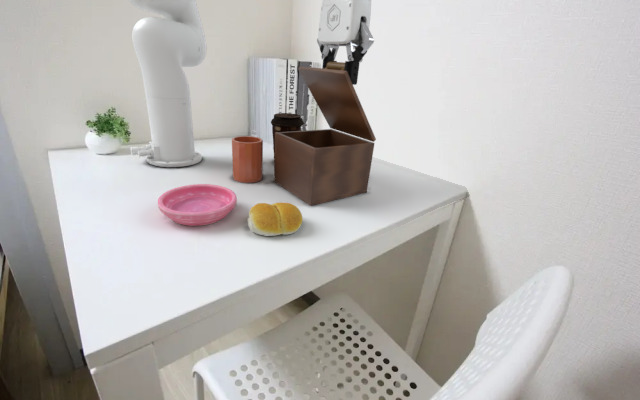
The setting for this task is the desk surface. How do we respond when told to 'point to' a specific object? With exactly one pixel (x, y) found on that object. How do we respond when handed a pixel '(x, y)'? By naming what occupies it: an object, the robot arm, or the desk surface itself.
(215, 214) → the saucer
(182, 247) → the desk surface
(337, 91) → the lid
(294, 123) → the coffee cup
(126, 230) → the desk surface
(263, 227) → the bread roll
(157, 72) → the robot arm
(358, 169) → the chest
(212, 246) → the desk surface
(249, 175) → the tumbler
